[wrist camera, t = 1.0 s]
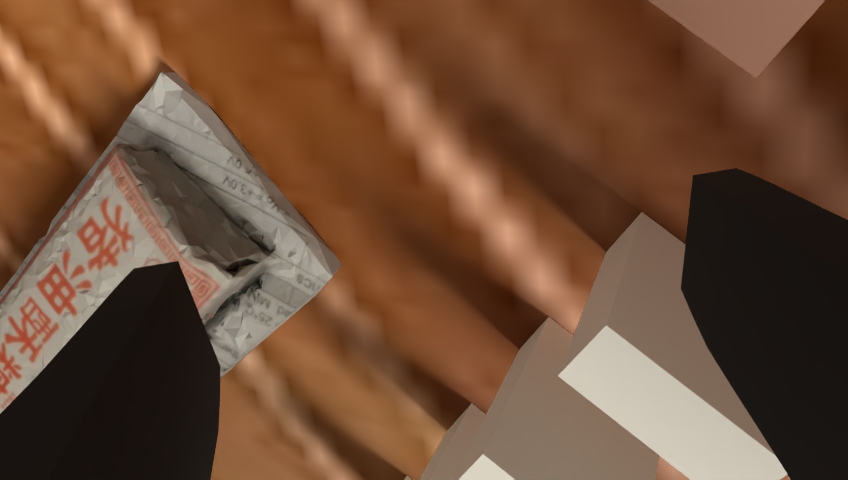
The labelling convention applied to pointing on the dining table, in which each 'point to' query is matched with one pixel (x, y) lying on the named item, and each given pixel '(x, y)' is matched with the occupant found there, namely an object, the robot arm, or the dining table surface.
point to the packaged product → (165, 238)
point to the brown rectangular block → (743, 26)
